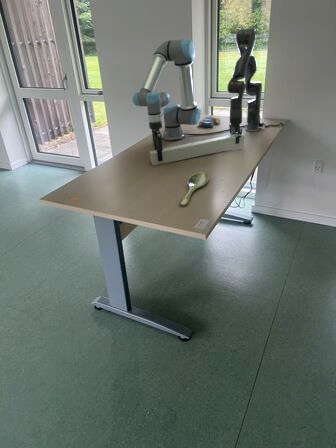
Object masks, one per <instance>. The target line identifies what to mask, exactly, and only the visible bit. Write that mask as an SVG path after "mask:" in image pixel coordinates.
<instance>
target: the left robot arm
mask: <svg viewBox="0 0 336 448" xmlns="http://www.w3.org/2000/svg"><path fill="white" fill-rule="evenodd" d="M195 58H196V48H195V44H194V42H193V41H192V40H191V39H184V38H183V39H173V40H166V41H163V42H162V43H161V44H160V45H159V46H158V47H157V48H156V50H154V53H153V55H152V57H151V59H152V60H151V64H150V66H149V68H148V71H147V73H146V75H145V78H144V80H143V83H142V84H141V87H140V90H139V92H135V93H133V95H132V103H133V105H134V106H135V107H146V108H147V118H148V119H147V120H148V127H149V129H150V130H151V135H152V145H153V148H154V150H156V151H157V155H158V161H163V158H162V150H163V149H164V148H163V140H164V141H167V142H176V141H180V140H182V139H184V137H185V136H187V135H188V136H204V135H205V136H206V135H214V134H219V133H224V132H227V131H230V128H228V129H224V130H220V131H214V132H206V133H184V132H183V129H182V126H181V125H186V126H196V125H197V124H199V122H200V118H201V114H202V113H201V112H202V111H201V108H200V107H198V104H197V102H195V95H194V85H193V77H192V76H193V75H192V66H191V65H192V64H193V61H194V60H195ZM169 62H173V63H174V66H175V67H176V68H177V69H176V70H177V76H178V84H179V92H180V99H181V100H180V101H181V104H178V103H176V104H170V103H171V95H170V94H169V93H168V92H166V91H161V92H158V91H154V90H155V88H156V86H157V83H158V81H159V79H160V76H161V74H162V71H163V69H164V67H166V65H167V63H169ZM163 107H164V108H163ZM161 108H163V114H162V109H161ZM162 117H163V122H164V130H163V135H162V133H161V130H160V129H162V128H163V122H162ZM240 128H246V124H244V125H240ZM162 139H163V140H162Z"/></svg>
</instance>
